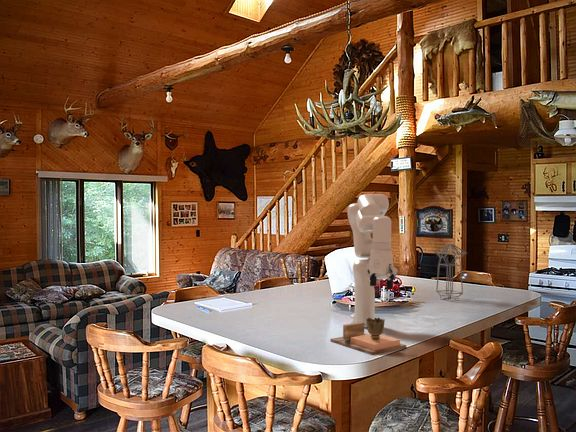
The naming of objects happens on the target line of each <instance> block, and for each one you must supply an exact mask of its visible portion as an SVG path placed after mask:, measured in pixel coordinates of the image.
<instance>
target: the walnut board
mask: <svg viewBox="0 0 576 432" xmlns="http://www.w3.org/2000/svg"><path fill="white" fill-rule="evenodd" d="M342 325H343V326H342V336H338V337H333V338H330V339H329V340H330V342H332V343H334V344H338V345H341V346H344V347H347V348H350V349H353V350H356V351H360V352H362V353H365V354H369V355H371V356H374V355H378V354H384V353H388V352H392V350H393V351H397V350H396V349H398V350H401V349H400V348H402V349H405V348H407V344H404V343H401V342H400V345H399V346H394V347H389V348H385V349H380V350H372V349H368V348H365V347H362V346H359V345H356V344H352V343H351V337H356V336H362V335H367V334H368V333H365V328H364V323H363V322H357V323H346V324H342Z"/></svg>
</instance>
